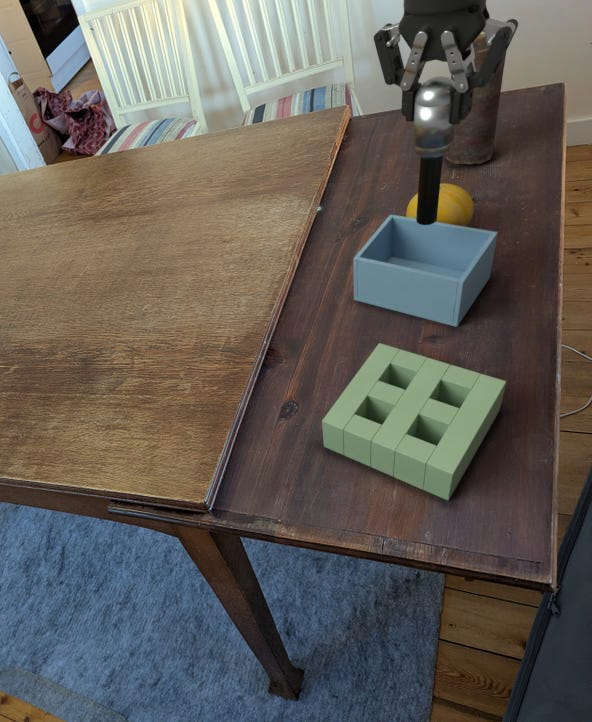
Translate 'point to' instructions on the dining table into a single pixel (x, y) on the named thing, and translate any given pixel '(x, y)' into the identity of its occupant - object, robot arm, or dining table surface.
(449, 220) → the fruit
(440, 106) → the microphone
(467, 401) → the rack
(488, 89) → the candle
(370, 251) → the tub
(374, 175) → the dining table surface
